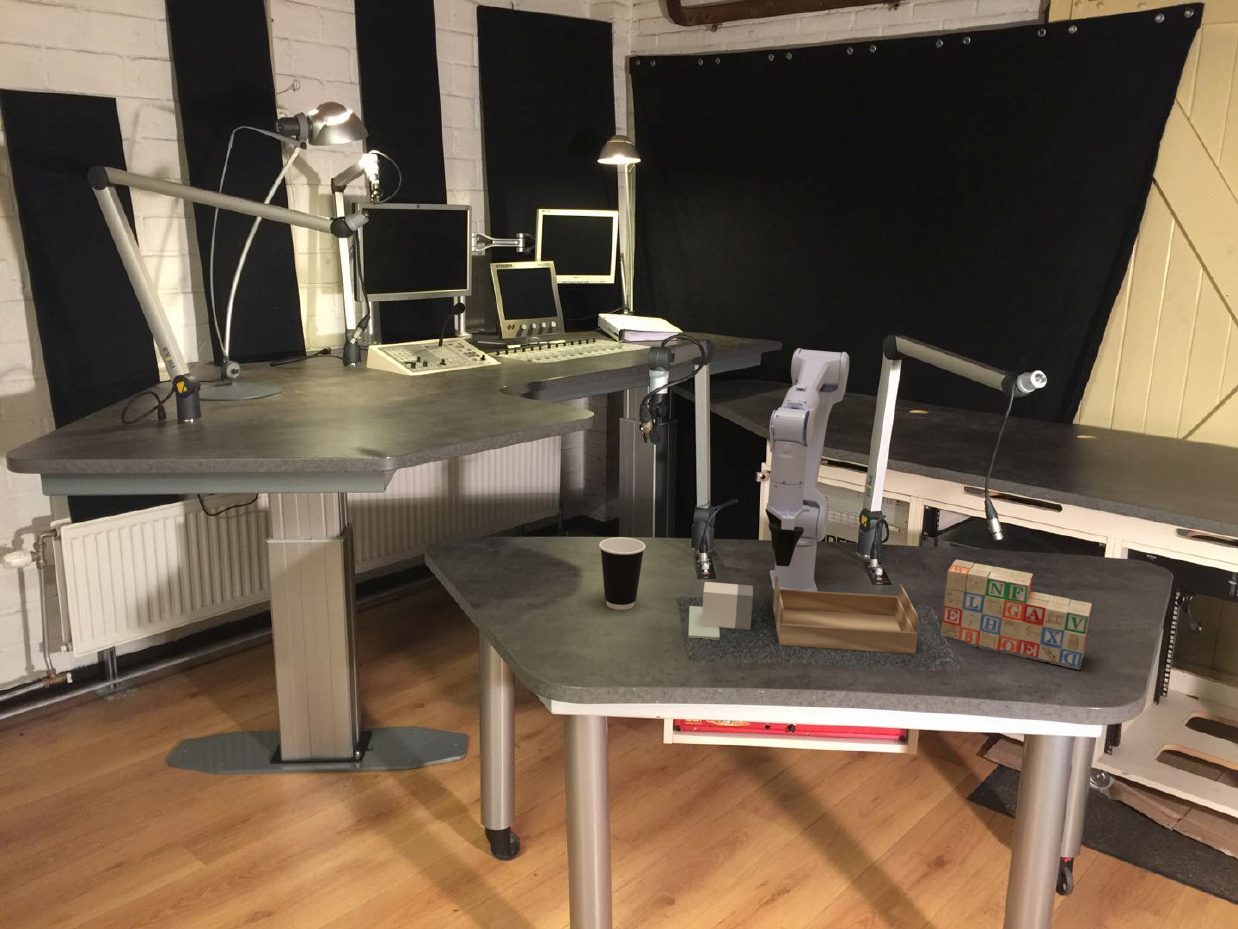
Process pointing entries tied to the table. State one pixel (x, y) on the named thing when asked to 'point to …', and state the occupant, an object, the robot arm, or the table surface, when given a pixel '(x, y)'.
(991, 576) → the stack of blocks
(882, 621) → the wooden crate
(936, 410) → the table surface
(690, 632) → the panel
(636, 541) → the dixie cup
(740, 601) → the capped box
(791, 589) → the robot arm
